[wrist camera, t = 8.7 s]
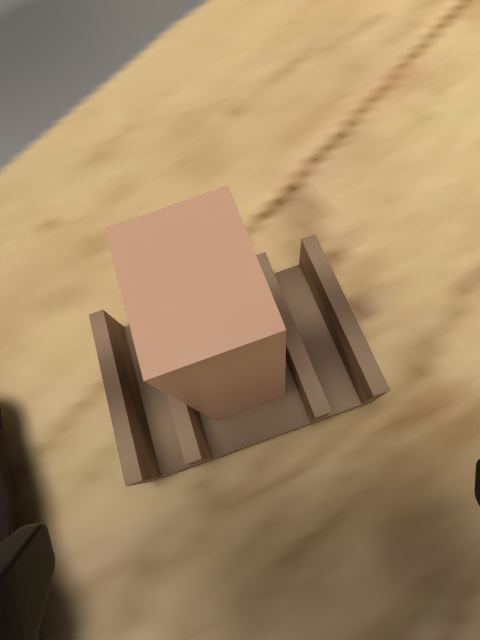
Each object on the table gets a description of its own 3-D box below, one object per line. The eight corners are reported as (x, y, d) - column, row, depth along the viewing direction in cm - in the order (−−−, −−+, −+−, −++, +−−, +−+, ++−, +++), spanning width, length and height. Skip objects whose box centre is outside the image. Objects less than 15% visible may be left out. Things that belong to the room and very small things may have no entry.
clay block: (284, 396, 22) (286, 329, 10) (216, 421, 22) (143, 381, 10) (254, 316, 23) (227, 185, 12) (191, 339, 23) (105, 228, 12)
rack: (372, 401, 22) (390, 390, 18) (151, 481, 22) (125, 486, 18) (310, 266, 25) (315, 234, 21) (116, 335, 25) (89, 314, 21)
